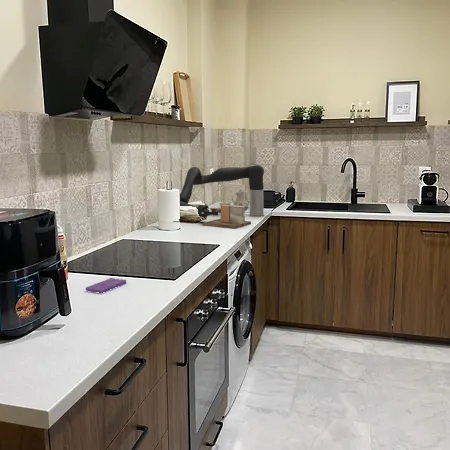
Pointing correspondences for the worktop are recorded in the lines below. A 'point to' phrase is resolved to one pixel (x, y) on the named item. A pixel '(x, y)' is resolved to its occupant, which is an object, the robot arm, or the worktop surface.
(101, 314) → the worktop surface
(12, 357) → the worktop surface
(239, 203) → the chinaware
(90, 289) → the sponges
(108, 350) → the worktop surface
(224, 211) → the tan upright block
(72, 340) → the worktop surface
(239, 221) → the ticket stand
